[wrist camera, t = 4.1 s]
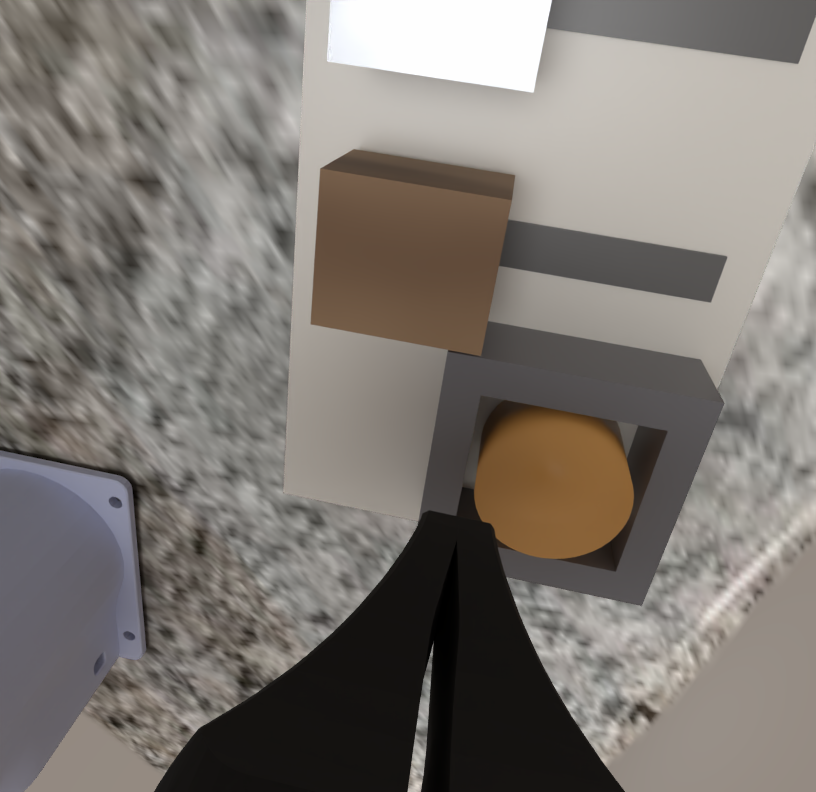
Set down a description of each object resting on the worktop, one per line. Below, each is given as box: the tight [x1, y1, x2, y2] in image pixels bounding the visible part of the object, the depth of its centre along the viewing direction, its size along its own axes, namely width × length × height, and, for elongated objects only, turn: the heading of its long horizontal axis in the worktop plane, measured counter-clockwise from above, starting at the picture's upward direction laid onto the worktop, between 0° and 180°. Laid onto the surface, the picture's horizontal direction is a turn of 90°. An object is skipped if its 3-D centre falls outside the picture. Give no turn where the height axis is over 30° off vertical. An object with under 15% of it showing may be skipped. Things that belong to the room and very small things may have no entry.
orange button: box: [474, 400, 634, 559], centre depth 18 cm, size 4×4×2 cm
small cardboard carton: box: [310, 149, 515, 356], centre depth 16 cm, size 4×4×3 cm
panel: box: [283, 0, 816, 606], centre depth 17 cm, size 17×12×4 cm
